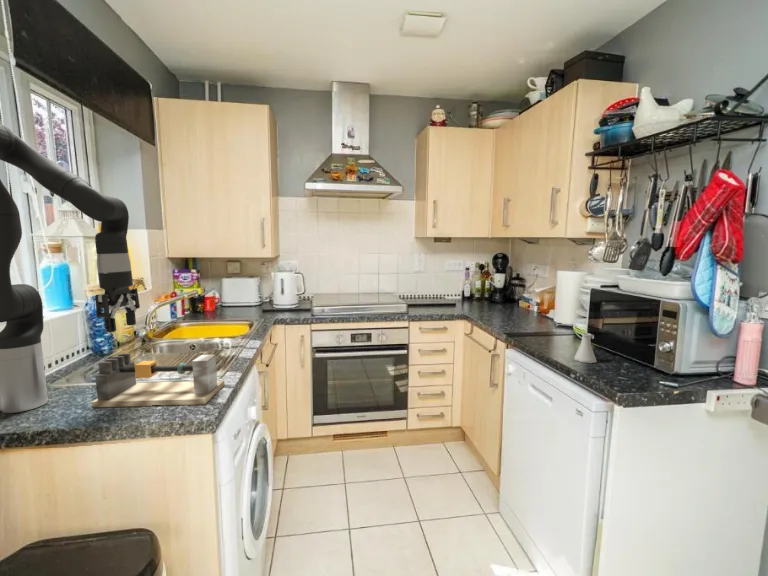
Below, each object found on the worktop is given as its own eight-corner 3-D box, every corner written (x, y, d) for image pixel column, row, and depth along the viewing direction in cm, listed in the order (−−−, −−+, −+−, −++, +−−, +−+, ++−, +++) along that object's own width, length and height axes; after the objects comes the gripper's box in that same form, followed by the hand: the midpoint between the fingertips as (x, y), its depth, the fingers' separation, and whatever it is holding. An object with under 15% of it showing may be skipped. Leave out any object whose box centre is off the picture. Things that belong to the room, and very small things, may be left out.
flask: (600, 363, 134) (602, 336, 133) (580, 363, 134) (581, 336, 133) (589, 357, 141) (590, 331, 140) (570, 357, 141) (571, 331, 140)
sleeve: (135, 378, 106) (134, 365, 106) (143, 373, 110) (142, 360, 109) (150, 377, 106) (149, 364, 106) (157, 373, 110) (156, 360, 109)
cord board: (91, 407, 101) (87, 366, 100) (125, 387, 115) (121, 351, 114) (205, 404, 102) (202, 363, 101) (224, 385, 116) (222, 349, 115)
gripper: (118, 269, 110) (124, 323, 111) (80, 272, 95) (89, 335, 97) (144, 268, 110) (150, 322, 112) (111, 271, 96) (118, 333, 98)
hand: (121, 328), depth 105 cm, fingers open, 8 cm apart
